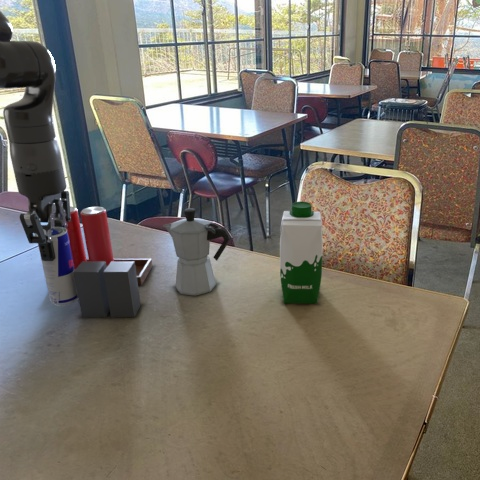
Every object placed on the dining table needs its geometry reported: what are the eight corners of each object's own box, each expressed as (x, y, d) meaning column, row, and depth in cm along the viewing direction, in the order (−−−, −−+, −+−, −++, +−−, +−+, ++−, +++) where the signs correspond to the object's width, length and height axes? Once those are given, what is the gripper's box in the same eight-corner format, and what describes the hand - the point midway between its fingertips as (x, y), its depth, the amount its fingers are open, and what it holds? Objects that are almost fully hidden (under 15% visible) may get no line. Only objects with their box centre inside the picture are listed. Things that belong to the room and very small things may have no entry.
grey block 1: (81, 317, 93) (72, 271, 89) (90, 305, 98) (82, 261, 94) (105, 317, 94) (97, 272, 90) (113, 305, 98) (105, 261, 94)
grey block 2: (110, 317, 94) (103, 271, 90) (118, 305, 98) (111, 261, 94) (134, 317, 94) (127, 271, 90) (140, 305, 98) (134, 261, 94)
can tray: (51, 285, 104) (49, 277, 103) (69, 266, 113) (67, 258, 112) (141, 285, 105) (140, 277, 105) (152, 266, 114) (151, 258, 113)
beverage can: (84, 301, 94) (71, 231, 88) (57, 310, 91) (42, 238, 85) (73, 291, 98) (60, 223, 92) (46, 300, 94) (31, 230, 88)
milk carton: (320, 285, 108) (323, 201, 100) (321, 306, 100) (324, 216, 92) (281, 284, 108) (280, 200, 99) (279, 306, 99) (278, 216, 91)
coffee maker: (159, 292, 103) (150, 213, 96) (177, 273, 111) (170, 199, 104) (225, 300, 101) (221, 220, 94) (239, 280, 109) (236, 206, 101)
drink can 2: (88, 278, 106) (76, 214, 100) (96, 268, 111) (85, 206, 105) (111, 278, 107) (100, 214, 101) (118, 268, 111) (108, 206, 105)
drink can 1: (60, 278, 106) (46, 213, 100) (69, 268, 111) (57, 205, 104) (83, 278, 106) (71, 214, 100) (92, 268, 111) (80, 206, 105)
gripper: (36, 154, 90) (52, 237, 96) (-8, 176, 76) (15, 271, 83) (77, 155, 90) (91, 238, 97) (40, 177, 77) (59, 271, 84)
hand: (55, 253), depth 90 cm, fingers closed on beverage can, 5 cm apart
